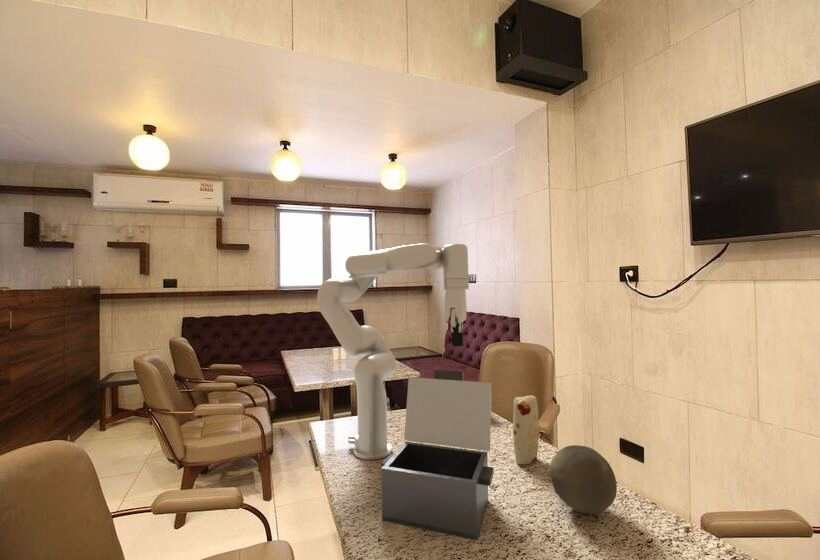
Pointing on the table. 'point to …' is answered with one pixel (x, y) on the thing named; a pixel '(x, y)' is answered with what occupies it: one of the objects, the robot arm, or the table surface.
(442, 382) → the lid
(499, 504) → the table surface
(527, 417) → the food model
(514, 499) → the table surface
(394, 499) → the grey lidded box
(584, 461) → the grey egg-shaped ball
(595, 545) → the table surface
